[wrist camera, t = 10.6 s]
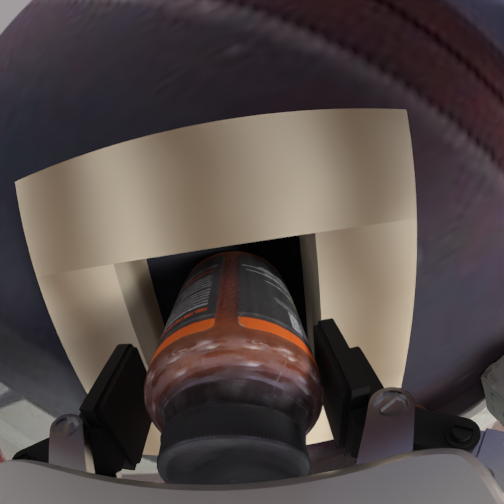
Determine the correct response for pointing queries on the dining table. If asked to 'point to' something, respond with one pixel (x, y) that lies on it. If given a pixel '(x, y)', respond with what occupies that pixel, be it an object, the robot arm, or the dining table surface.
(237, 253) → the supplement bottle
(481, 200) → the dining table surface
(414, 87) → the dining table surface
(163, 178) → the socket board
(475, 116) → the dining table surface
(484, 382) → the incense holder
